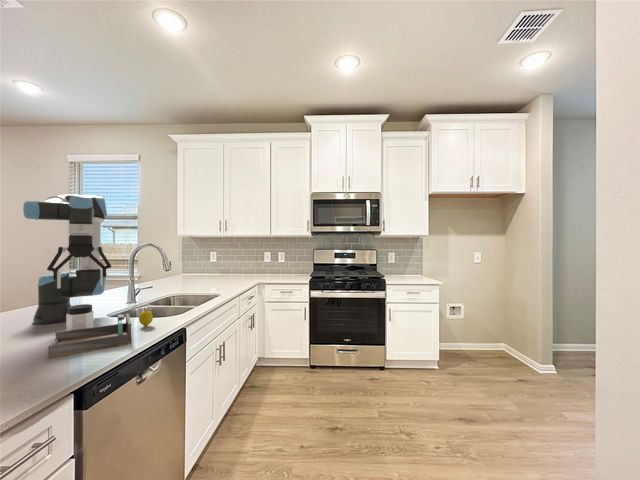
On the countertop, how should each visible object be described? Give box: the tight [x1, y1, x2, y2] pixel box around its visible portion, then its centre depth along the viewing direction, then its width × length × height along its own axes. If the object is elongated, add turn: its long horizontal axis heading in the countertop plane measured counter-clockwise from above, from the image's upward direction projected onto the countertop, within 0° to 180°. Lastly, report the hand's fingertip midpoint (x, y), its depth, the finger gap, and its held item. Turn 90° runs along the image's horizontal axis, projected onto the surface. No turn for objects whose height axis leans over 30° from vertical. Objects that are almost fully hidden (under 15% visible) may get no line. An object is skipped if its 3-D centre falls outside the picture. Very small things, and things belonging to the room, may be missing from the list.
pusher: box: [117, 314, 125, 335], centre depth 120 cm, size 15×2×8 cm, turn 36°
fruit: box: [138, 309, 154, 328], centre depth 136 cm, size 6×6×8 cm
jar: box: [65, 303, 94, 331], centre depth 125 cm, size 9×8×12 cm
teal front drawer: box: [47, 313, 132, 359], centre depth 115 cm, size 18×24×8 cm
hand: (80, 286), depth 120 cm, fingers open, 13 cm apart
